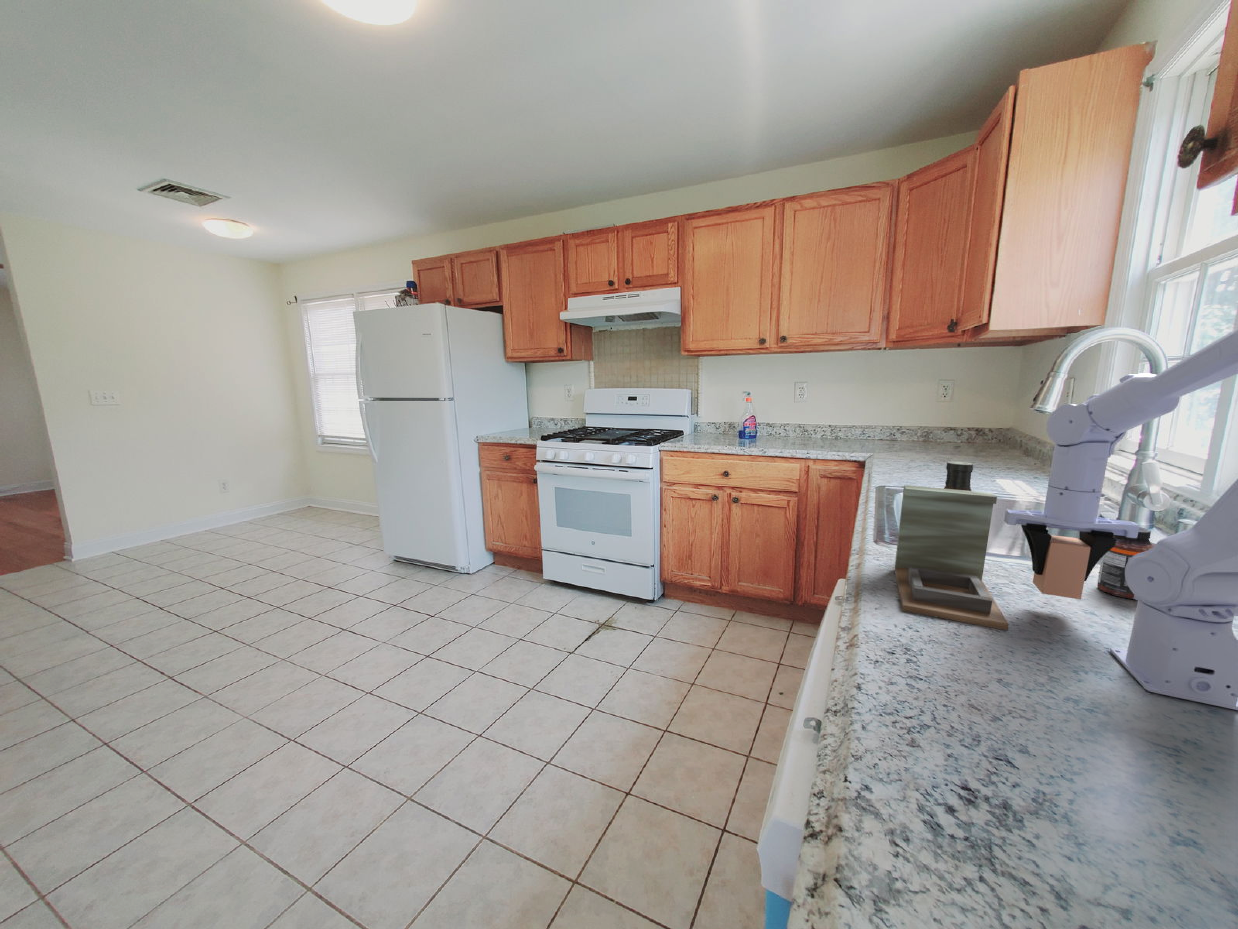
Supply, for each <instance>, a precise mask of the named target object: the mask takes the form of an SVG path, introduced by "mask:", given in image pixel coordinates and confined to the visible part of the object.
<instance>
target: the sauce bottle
mask: <svg viewBox="0 0 1238 929" xmlns="http://www.w3.org/2000/svg"><path fill="white" fill-rule="evenodd" d="M945 469H946V477H945V478H946V480H945V485H944V487H943V489H954V490H965V491H972V488H971V479H972V473H973V470H974V464H973V463H971V462H967V461H966V462H965V461H947V462H946V467H945Z"/></svg>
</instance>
